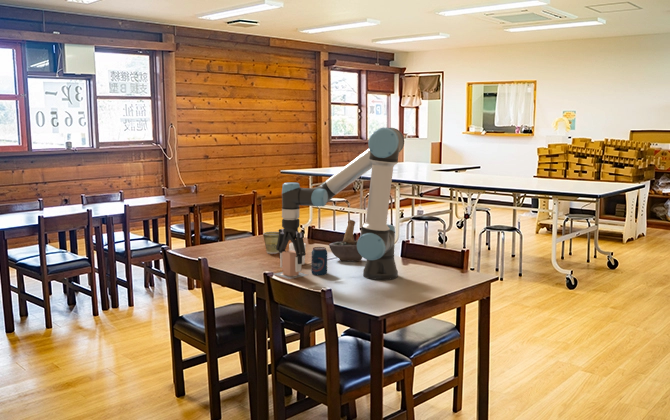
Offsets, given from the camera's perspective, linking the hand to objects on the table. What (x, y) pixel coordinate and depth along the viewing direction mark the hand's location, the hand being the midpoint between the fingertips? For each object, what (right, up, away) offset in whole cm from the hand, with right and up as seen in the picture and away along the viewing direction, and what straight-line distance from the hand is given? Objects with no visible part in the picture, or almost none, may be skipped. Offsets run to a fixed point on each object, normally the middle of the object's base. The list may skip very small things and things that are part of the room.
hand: (290, 269), depth 273 cm
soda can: (+12, -3, +3) cm, 13 cm away
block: (0, -2, 0) cm, 2 cm away
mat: (0, -3, 0) cm, 3 cm away
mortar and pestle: (+27, +1, +32) cm, 42 cm away
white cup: (+2, 0, +23) cm, 23 cm away
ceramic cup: (-12, +4, +51) cm, 52 cm away
